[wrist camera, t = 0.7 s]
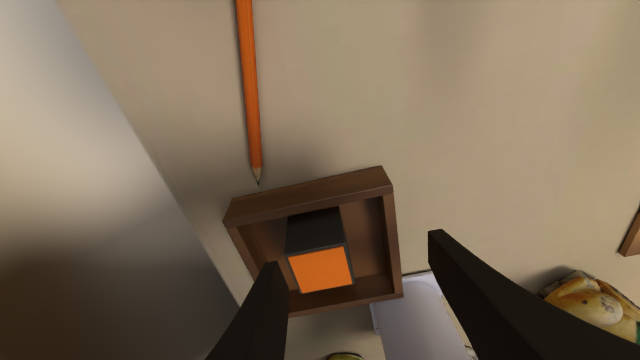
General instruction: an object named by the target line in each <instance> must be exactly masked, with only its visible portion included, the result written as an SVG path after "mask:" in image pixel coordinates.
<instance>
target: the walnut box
mask: <svg viewBox="0 0 640 360" xmlns="http://www.w3.org/2000/svg"><path fill="white" fill-rule="evenodd" d="M337 206H339V208H340V212H341V216H342V221H343V225H344V229H345V233H346V238H347V242H348V247H349V252H350V257H351V262H352V267H353V272H354V277H355V284H352V285H346V286H341V287H336V288H330V289H325V290H320V291H315V292H309V293H304V294H300V292H299V290H298V288H297V285H296V283H295V280H294V278H293V276H292V273H291V271H290V268H289V266H288V264H287V261H286V259H285V256H284V250H285V240H286V230H287V220H288V217H290V216H295V215H299V214H304V213H309V212H314V211H318V210H323V209H328V208H333V207H337ZM222 222H223V224H224V225H225V227H226V229H227V231H228V233H229V235H230V237H231V239H232V241H233V242H234V244H235V246H236V248H237V250H238V252H239V254H240V255H241V257H242V259H243V261H244V263H245V265H246V267H247V268H248V270H249V272H250V274H251V276H252V278H253V280H254V282H255V280H256V278H257V276H258V274H259V272H260V270H261V268H262V266H263V265H264V263H265V262H271V261H276V260H277V261H278V264H279V266H280V268H281V271H282V273H283V275H284V278H285V280H286V283H287V285H288V287H289V315H288V318H294V317H299V316H305V315H310V314H316V313H321V312H326V311H332V310H337V309H343V308H348V307H354V306H359V305H365V304H370V303H376V302H381V301H387V300H392V299H398V298H403V297H404V293H403V283H402V273H401V263H400V253H399V243H398V233H397V223H396V213H395V203H394V194H393V185H392V183H391V181H390V179H389V178H388V176H387V174H386V172H385V171H384V169H383V167H382V166H377V167H373V168H368V169H364V170H359V171H355V172H350V173H346V174H341V175H337V176H332V177H328V178H323V179H318V180H314V181H309V182H305V183H300V184H296V185H291V186H287V187H282V188H278V189H273V190H269V191H264V192H259V193H255V194H250V195H246V196H241V197H237V198H232V200H231V203H230V205H229V207H228V209H227V211H226V214H225V216H224V218H223V221H222Z"/></svg>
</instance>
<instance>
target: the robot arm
mask: <svg viewBox="0 0 640 360" xmlns="http://www.w3.org/2000/svg"><path fill="white" fill-rule="evenodd" d="M428 263H429V265H430V267H431V270H432V271H428V272H423V273H418V274H412V275H407V276H402V283H403V293H404V297H403V298H398V299H392V300H387V301H381V302H376V303H370V304H369V306H370V311H371V316H372V320H373V325H374V330H375V334H377V335H380V337H381V341H382V345H383V349H384V353H385V357H386V360H471V358H470V356H469V354H468V352H467V350H466V348H465V346H464V344H463V342H462V340H461V338H460V336H459V334H458V332H457V330H456V328H455V326H454V324H453V322H452V320H451V318H450V316H449V314H448V312H447V310H446V308H445V306H444V304H443V302H442V293H443V294H444V296H445V298H446V300H447V301H448V303H449V305H450V307H451V308H452V310H453V312H454V314H455V315H456V317H457V319H458V321H459V322H460V324H461V326H462V328H463V329H464V331H465V333H466V335H467V337H468V339H469V341H470V343H471V345H472V347H473V349H474V351H475V354H476V356H477V358H478V360H640V345H638V344H636V343H633V342H631V341H629V340H626V339H624V338H621V337H619V336H617V335H614V334H612V333H610V332H608V331H606V330H603V329H601V328H599V327H597V326H595V325H593V324H590V323H588V322H586V321H584V320H582V319H580V318H578V317H576V316H574V315H572V314H570V313H568V312H566V311H564V310H562V309H560V308H558V307H556V306H554V305H552V304H550V303H549V302H547V301H545V300H543V299H541V298H540V297H538V296H536V295H534V294H532V293H531V292H529V291H527V290H526V289H524V288H522V287H521V286H519V285H518V284H516V283H514V282H513V281H511V280H510V279H508V278H507V277H505V276H504V275H502V274H501V273H499V272H498V271H496V270H495V269H493V268H492V267H490V266H489V265H488V264H486V263H485V262H483V261H482V260H481V259H479V258H478V257H477V256H475V255H474V254H473V253H471V252H470V251H469V250H467V249H466V248H465V247H464V246H462V245H461V244H460V243H459V242H457V241H456V240H455V239H454V238H452V237H451V236H450V235H449V234H448V233H446V232H445V231H444V230H442V229H437V230H432V231H428ZM288 315H289V287H288V285H287V283H286V280H285V278H284V275H283V273H282V271H281V268H280V266H279V264H278V261H277V260H276V261H271V262H265V263H264V265H263V266H262V268H261V270H260V272H259V274H258V276H257V278H256V280H255V282H254V284H253V286H252V288H251V290H250V291H249V293H248V295H247V297H246V298H245V300H244V302H243V304H242V306H241V307H240V309H239V310H238V312H237V314H236V315H235V317H234V319H233V320H232V322H231V323H230V325H229V327H228V328H227V330H226V331H225V333H224V334H223V335H222V337H221V338H220V340H219V341H218V343H217V344H216V346H215V347H214V348H213V349H212V351H211V352H210V354H209V355H208V356H207V357H206V359H205V360H284V354H285V344H286V335H287V325H288Z"/></svg>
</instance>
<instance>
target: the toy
mask: <svg viewBox="0 0 640 360" xmlns="http://www.w3.org/2000/svg"><path fill="white" fill-rule="evenodd" d="M327 360H363V359H362V358H359V357H358V356H354V355H350V354H337V355H336V354H334V355H331V356H329V357H328V359H327Z"/></svg>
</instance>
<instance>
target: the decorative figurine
mask: <svg viewBox="0 0 640 360" xmlns="http://www.w3.org/2000/svg"><path fill="white" fill-rule="evenodd" d="M538 293H540V294H541V295H542V296H543V297H544V299H543V300H545V301H547V302H549V303H550V304H552V305H554V306H556V307H558V308H560V309H562V310H564V311H566V312H568V313H570V314H572V315H574V316H576V317H578V318H580V319H582V320H584V321H586V322H588V323H590V324H593V325H595V326H597V327H599V328H601V329H603V330H606V331H608V332H610V333H612V334H614V335H617V336H619V337H621V338H624V339H626V340H629V341H631V342H633V343H636V344H638V345H640V308H639V307H638V306H636V305H635V304H634V303H633V302H632V301H630V300H629V299H628V298H627V297H626V296H624V295H623V294H622V293H620V292H619V291H618V290H617V289H615V288H614V287H612V286H611V285H609V284H608V283H606V282H603V281H601V280H599V279H596V280H594V279H591V278H589V277H588V276H586V275H585V274H583V273H582V272H580V271H575V272H573V273H572V274H571V275H569V276H567V277H565V278H564V279H562V280H561V281H556V282H554V283H552V284H550V285H549V286H547V287H545V288H544V289H542V290H540V291H538Z"/></svg>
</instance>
